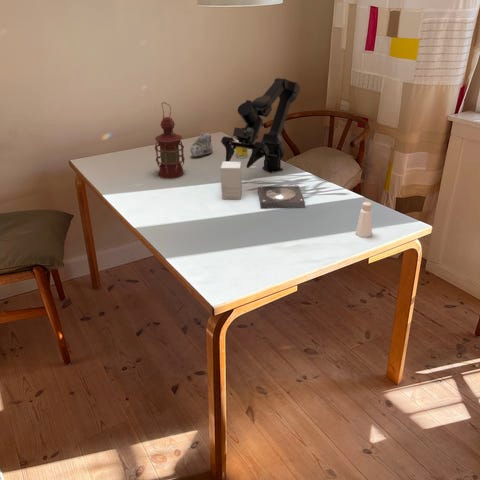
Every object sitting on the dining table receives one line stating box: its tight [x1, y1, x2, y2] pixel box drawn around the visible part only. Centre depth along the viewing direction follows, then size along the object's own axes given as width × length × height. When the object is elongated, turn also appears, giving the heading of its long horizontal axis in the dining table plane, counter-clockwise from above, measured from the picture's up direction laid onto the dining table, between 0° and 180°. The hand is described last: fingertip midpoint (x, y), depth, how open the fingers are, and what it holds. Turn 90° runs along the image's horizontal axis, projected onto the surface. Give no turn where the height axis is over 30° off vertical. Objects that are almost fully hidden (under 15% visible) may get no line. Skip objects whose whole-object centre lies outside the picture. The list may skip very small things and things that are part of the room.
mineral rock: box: [189, 132, 214, 157], centre depth 242 cm, size 13×11×10 cm
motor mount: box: [257, 184, 306, 209], centre depth 196 cm, size 16×16×3 cm
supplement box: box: [220, 160, 243, 200], centre depth 197 cm, size 7×7×13 cm
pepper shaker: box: [355, 201, 373, 238], centre depth 168 cm, size 5×5×11 cm
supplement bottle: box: [235, 139, 248, 159], centre depth 239 cm, size 5×5×10 cm
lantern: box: [154, 101, 185, 179], centre depth 214 cm, size 12×12×30 cm
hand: (236, 165), depth 198 cm, fingers open, 9 cm apart
